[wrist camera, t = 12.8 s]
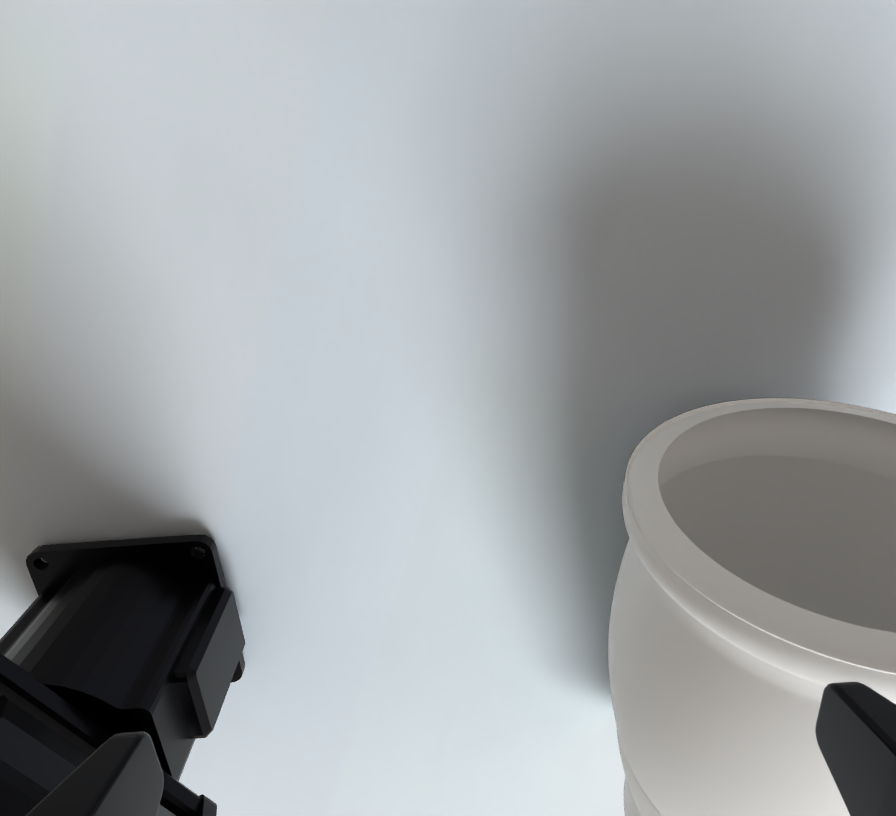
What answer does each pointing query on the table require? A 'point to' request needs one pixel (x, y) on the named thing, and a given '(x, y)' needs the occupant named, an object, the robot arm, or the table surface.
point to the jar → (750, 602)
